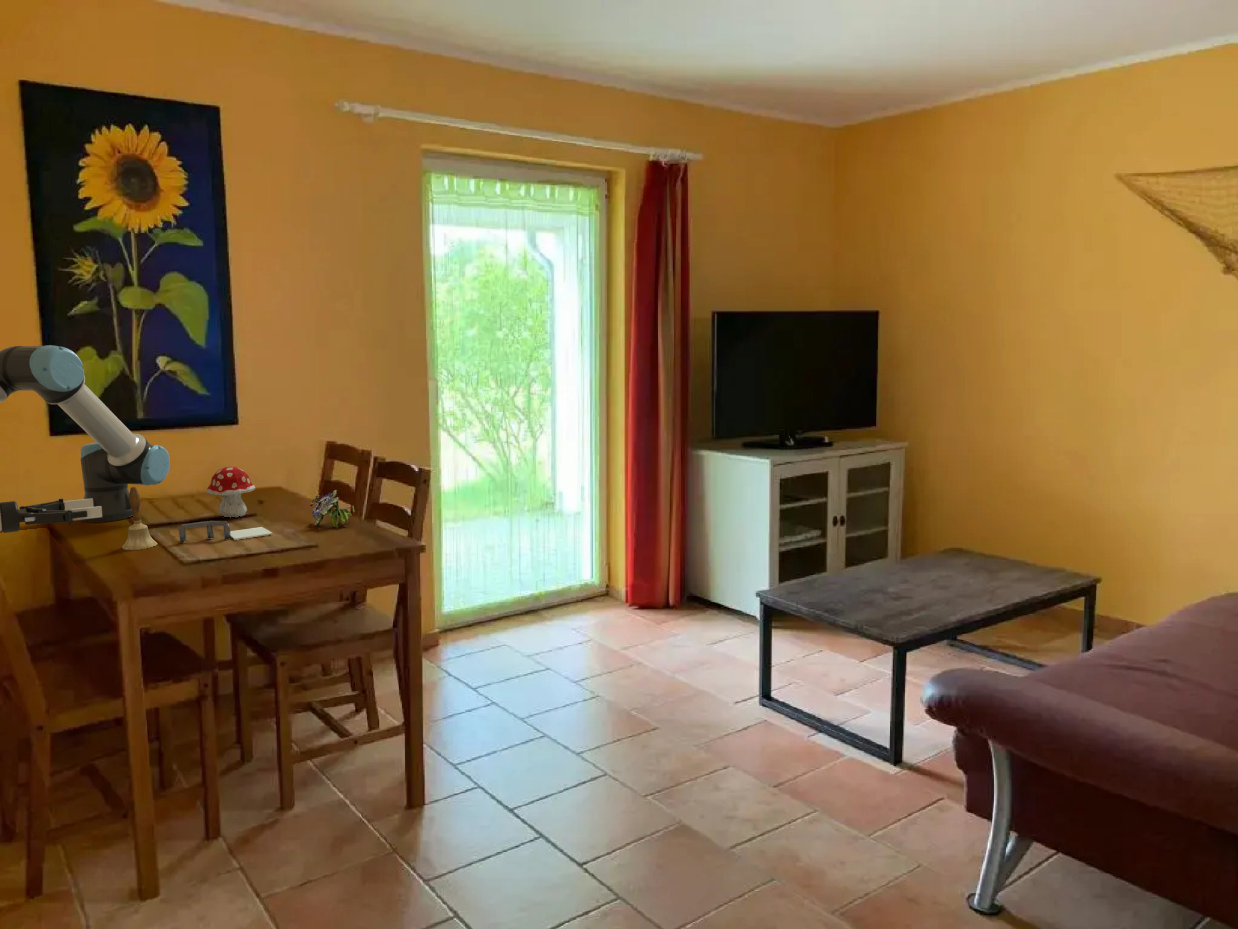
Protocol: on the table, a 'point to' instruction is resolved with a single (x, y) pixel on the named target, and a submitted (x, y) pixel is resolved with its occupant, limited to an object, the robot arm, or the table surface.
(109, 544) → the table surface
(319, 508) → the passion flower
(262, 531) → the pad
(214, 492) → the decorative mushroom
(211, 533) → the gray stand
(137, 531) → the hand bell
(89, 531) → the table surface
